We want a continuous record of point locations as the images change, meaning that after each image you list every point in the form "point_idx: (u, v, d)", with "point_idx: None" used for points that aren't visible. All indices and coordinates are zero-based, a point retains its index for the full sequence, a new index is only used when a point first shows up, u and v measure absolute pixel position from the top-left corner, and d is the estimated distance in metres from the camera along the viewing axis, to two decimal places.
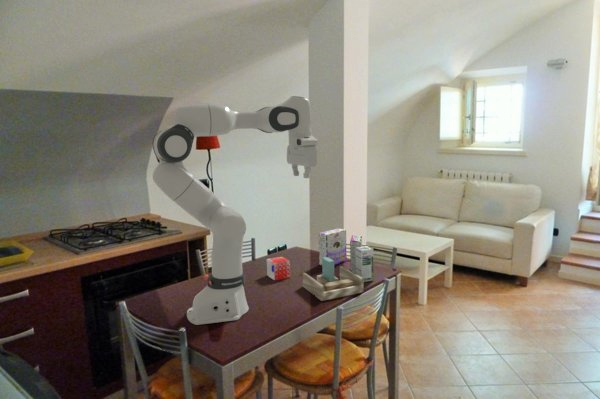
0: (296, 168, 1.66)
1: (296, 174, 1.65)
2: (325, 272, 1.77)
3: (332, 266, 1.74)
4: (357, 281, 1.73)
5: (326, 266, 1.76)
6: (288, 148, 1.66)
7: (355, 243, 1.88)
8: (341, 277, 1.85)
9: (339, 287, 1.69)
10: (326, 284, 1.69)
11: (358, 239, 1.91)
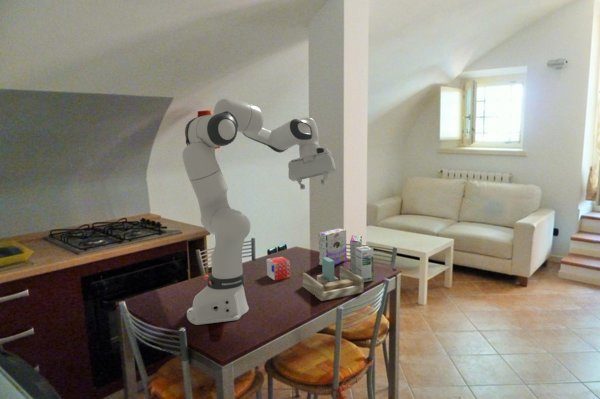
0: (301, 183, 1.76)
1: (303, 187, 1.74)
2: (325, 272, 1.77)
3: (332, 266, 1.74)
4: (357, 281, 1.73)
5: (326, 266, 1.76)
6: (292, 165, 1.77)
7: (355, 243, 1.88)
8: (341, 277, 1.85)
9: (339, 287, 1.69)
10: (326, 284, 1.69)
11: (358, 239, 1.91)
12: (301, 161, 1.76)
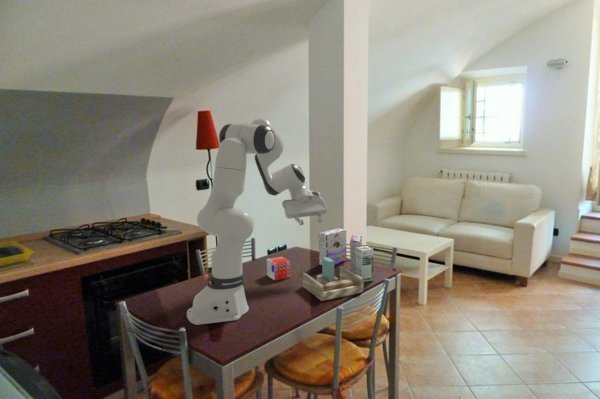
0: None
1: None
2: (325, 272, 1.77)
3: (332, 266, 1.74)
4: (357, 281, 1.73)
5: (326, 266, 1.76)
6: (289, 203, 1.89)
7: (355, 243, 1.88)
8: (341, 277, 1.85)
9: (339, 287, 1.69)
10: (326, 284, 1.69)
11: (358, 239, 1.91)
12: (297, 201, 1.92)
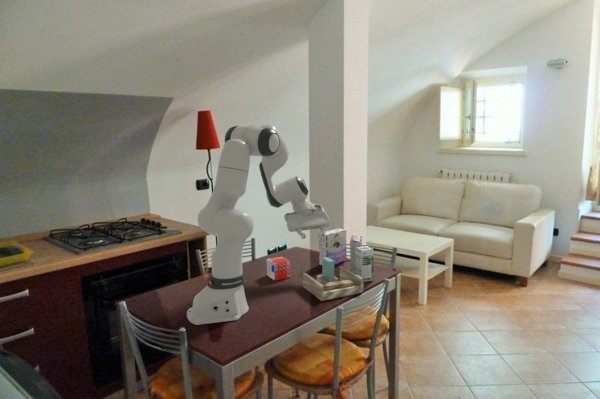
0: None
1: None
2: (325, 272, 1.77)
3: (332, 266, 1.74)
4: (357, 281, 1.73)
5: (326, 266, 1.76)
6: (292, 216, 1.88)
7: (355, 243, 1.88)
8: (341, 277, 1.85)
9: (338, 287, 1.69)
10: (325, 284, 1.69)
11: (358, 239, 1.91)
12: (299, 214, 1.91)
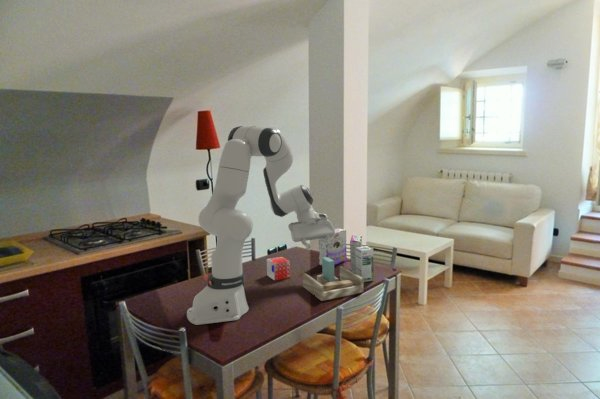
0: None
1: None
2: (325, 272, 1.77)
3: (332, 266, 1.74)
4: (357, 281, 1.73)
5: (326, 266, 1.76)
6: (296, 226, 1.85)
7: (355, 243, 1.88)
8: (341, 277, 1.85)
9: (338, 287, 1.69)
10: (325, 284, 1.70)
11: (358, 239, 1.91)
12: (304, 223, 1.87)
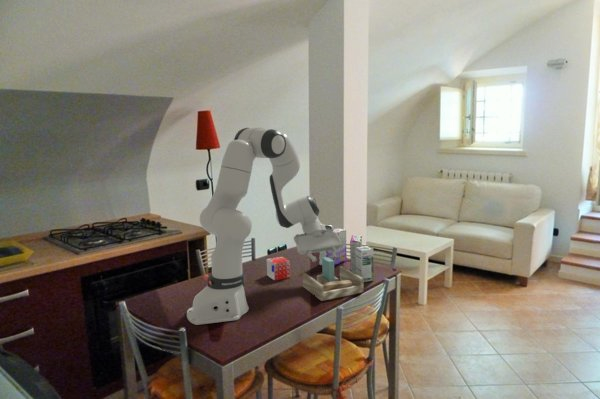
0: None
1: None
2: (325, 272, 1.77)
3: (332, 266, 1.74)
4: (357, 281, 1.73)
5: (325, 266, 1.76)
6: (302, 238, 1.81)
7: (355, 243, 1.88)
8: (341, 277, 1.85)
9: (337, 287, 1.69)
10: (324, 283, 1.70)
11: (358, 239, 1.91)
12: (310, 235, 1.83)
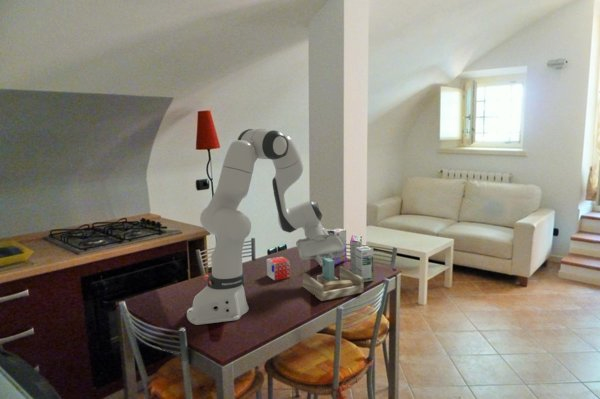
0: None
1: None
2: (325, 272, 1.77)
3: (332, 266, 1.74)
4: (357, 281, 1.73)
5: (325, 266, 1.76)
6: (304, 243, 1.79)
7: (355, 243, 1.88)
8: (341, 277, 1.85)
9: (337, 287, 1.70)
10: (324, 283, 1.71)
11: (358, 239, 1.91)
12: (312, 240, 1.81)
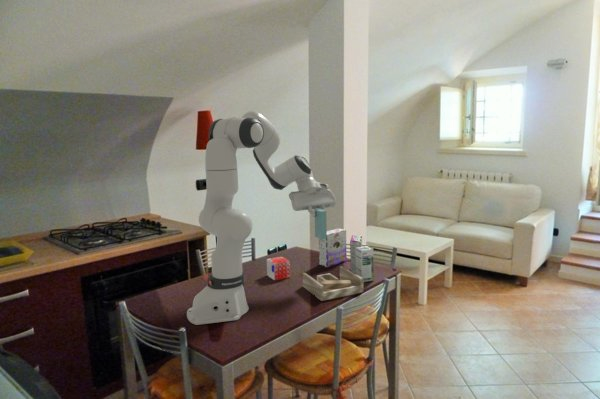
0: None
1: None
2: (317, 222, 1.80)
3: (324, 216, 1.77)
4: (357, 281, 1.73)
5: (318, 217, 1.79)
6: (297, 195, 1.81)
7: (355, 243, 1.88)
8: (341, 277, 1.85)
9: (335, 286, 1.70)
10: (323, 282, 1.72)
11: (358, 239, 1.91)
12: (305, 193, 1.84)
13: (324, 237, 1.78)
